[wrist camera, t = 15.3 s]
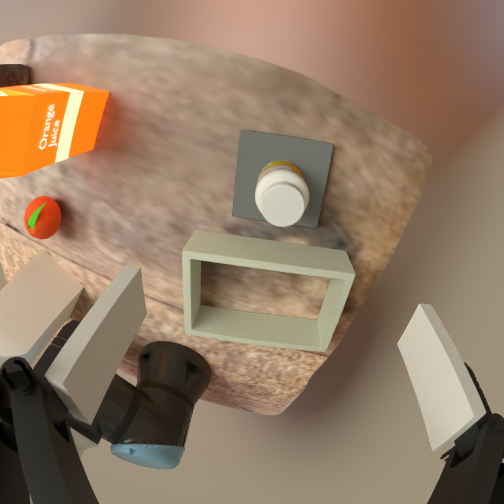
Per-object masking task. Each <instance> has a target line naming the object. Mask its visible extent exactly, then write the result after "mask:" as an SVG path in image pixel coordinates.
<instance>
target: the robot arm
mask: <svg viewBox="0 0 504 504" xmlns="http://www.w3.org/2000/svg"><path fill="white" fill-rule="evenodd" d="M146 314H147V313H146V306H145V299H144V291H143V283H142V275H141V267H136V266H130V265H125V267H124V268H123V269H122V270H121V271H120V273H119V274H118V275H117V276H116V277H115V279H114V280H113V281H112V282H111V284H110V285H109V286H108V287H107V289H106V290H105V291H104V292H103V294H102V295H101V296H100V297H99V299H98V300H97V301H96V303H95V304H94V305H93V307H92V308H91V309H90V310H89V312H88V313H87V314H86V316H85V317H84V318H83V320H82V321H81V322H79V321H76V320H72V321H71V322H69V323H68V324H66V325H65V326H63V328H62V329H61V330H60V332H59V333H58V334H57V337H55V338H54V340H53V341H52V343H51V345H49V347H48V348H47V349H46V351H45V352H44V354H43V355H42V357H41V358H40V360H39V361H38V362H37V364H36V366H35V367H34V369H33V370H32V368H31V366H30V365H29V363H28V362H27V361H26V360H25V359H24V358H22V357H12V358H9V359H7V360H6V361H5V362H4V363H3V365H2V366H1V368H0V504H99V503H98V501H97V498H96V496H95V494H94V492H93V490H92V487H91V485H90V483H89V481H88V478H87V476H86V473H85V471H84V468H83V465H82V463H81V460H80V458H81V456H82V454H83V452H84V450H85V449H87V448H91V447H96V446H97V445H98V444H99V441H100V439H101V438H103V439H105V440H107V441H108V442H110V443H112V445H111V447H110V448H111V452H112V454H114V455H116V456H117V457H119V458H120V459H123V460H125V461H128V462H131V463H134V464H137V465H141V466H144V467H149V468H155V469H173V468H175V467H176V466H178V465H179V463H180V460H181V457H182V454H183V451H184V450H185V448H184V447H185V442H186V438H187V434H188V430H189V425H190V421H191V417H192V413H193V409H194V405H195V403H196V402H197V401H198V399H199V398H200V397H201V395H202V394H203V392H204V391H205V390H206V388H207V387H208V385H209V381H210V377H211V370H210V367H209V365H208V363H207V362H206V361H205V360H204V359H203V358H202V357H201V356H200V355H199V354H197V353H196V352H194V351H193V350H191V349H189V348H187V347H185V346H182V345H180V344H176V343H172V342H165V341H158V342H152V343H149V344H148V345H146V346H145V347H144V348H143V350H142V352H141V354H140V356H139V359H138V375H137V385H136V387H135V386H133V385H132V384H130V383H129V382H128V381H126V380H125V379H123V378H122V377H120V376H119V375H117V374H116V371H117V369H118V367H119V365H120V363H121V361H122V359H123V357H124V356H125V354H126V352H127V350H128V348H129V346H130V344H131V342H132V340H133V338H134V336H135V335H136V333H137V331H138V329H139V327H140V325H141V323H142V322H143V320H144V318H145V316H146ZM398 347H399V349H400V351H401V354H402V357H403V360H404V362H405V365H406V368H407V370H408V373H409V376H410V379H411V382H412V384H413V387H414V390H415V393H416V396H417V399H418V403H419V406H420V409H421V412H422V415H423V419H424V422H425V425H426V429H427V433H428V436H429V440H430V443H431V447H432V451H436V450H440V449H443V448H446V447H447V446H448V445H450V444H451V443H452V442H453V441H454V442H455V446H454V447H453V448H451V449H450V450H449V451H447V452H446V453H445V454H443V455H442V457H441V458H440V459H443V458H445V457H446V456H447V455H449V457H448V458H446V459H445V461H446V464H445V467H444V469H443V472H442V474H441V476H440V478H439V481H438V483H437V485H436V487H435V489H434V491H433V493H432V495H431V498H430V499H429V501H428V503H427V504H504V463H502V459H503V458H504V418H503V417H502V416H501V415H499V414H497V413H494V414H492V412H491V411H490V408H489V406H488V404H487V401H486V399H485V397H484V394H483V392H482V390H481V388H479V386H480V385H479V383H478V381H476V377H475V375H474V373H473V371H472V370H471V369H470V367H469V366H468V365H467V364H466V363H464V362H463V361H462V359H461V357H460V355H459V353H458V351H457V349H456V347H455V345H454V343H453V342H452V340H451V338H450V336H449V334H448V333H447V331H446V329H445V327H444V326H443V324H442V322H441V321H440V319H439V317H438V316H437V314H436V312H435V311H434V309H433V307H432V306H431V304H419V305H418V307H417V309H416V311H415V313H414V315H413V317H412V319H411V320H410V322H409V324H408V326H407V328H406V330H405V331H404V333H403V335H402V337H401V339H400V341H399V342H398Z"/></svg>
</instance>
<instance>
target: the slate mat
mask: <svg viewBox="0 0 504 504" xmlns="http://www.w3.org/2000/svg"><path fill="white" fill-rule="evenodd" d="M332 149H333V144H331V143H326V142H321V141H315V140H310V139H304V138H298V137H292V136H286V135H279V134H272V133H264V132H256V131H247V130H241V133H240V142H239V151H238V160H237V170H236V180H235V190H234V200H233V211H232V216H235V217H243V218H250V219H257V220H265V221H267V220H266V219H265V218H264V216H263V214H262V213H261V212H260V211H259V209H258V207H257V205H256V201H255V190H256V186H257V182H258V177H259V174H260V172H261V170H262V169H263V168H264V167H265V166H266V165H267V164H268V163H270V162H272V161H275V160H286V161H289V162H291V163H293V164H295V165H296V166H297V167H298V168H299V170H300V171H301V173H302V175H303V177H304V180H305V182H306V184H307V187H308V191H309V202H308V205H307V208H306V209H305V211H304V213H303V215H302V217H301V218H300V219H299V220H298V221H297V222H296V223H294V224H293V225H299V226H306V227H312V228H317V225H318V220H319V216H320V211H321V206H322V201H323V197H324V192H325V187H326V182H327V176H328V171H329V166H330V161H331V155H332Z"/></svg>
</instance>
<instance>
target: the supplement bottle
mask: <svg viewBox="0 0 504 504" xmlns="http://www.w3.org/2000/svg"><path fill="white" fill-rule="evenodd" d="M255 201H256V205H257V207H258V209H259V211H260V212H261V213H262V214H263V216H264V218H265V219H266V220H267V221H268V222H269V223H271V224H273V225H275V226H280V227H286V226H290V225H293V224H294V223H296V222H297V221H298V220H299V219H300V218H301V217H302V215H303V213H304V211H305V209H306V208H307V205H308V202H309V191H308V187H307V184H306V182H305V180H304V177H303V175H302V173H301V171H300V170H299V168H298V167H297V166H296V165H295V164H293V163H291V162H289V161H286V160H275V161H272V162H270V163H268V164H267V165H266V166H265V167H264V168H263V169H262V170H261V172H260V174H259V177H258V182H257V186H256V190H255Z"/></svg>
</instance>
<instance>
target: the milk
mask: <svg viewBox="0 0 504 504" xmlns="http://www.w3.org/2000/svg"><path fill="white" fill-rule="evenodd" d="M83 288H84V287H83V286H82V285H81V284H80V283H79V282H78V281H77V280H75V279H74V278H73V277H72V276H71V275H70V274H69V273H68V272H67V271H66V270H64V269H63V268H62V267H61V266H60V265H59V264H58V263H57V262H56V261H55V260H54V259H53V258H52V257H51V256H50V255H49V254H48V253H47V252H46V251H45V250H44V249H42V250H41V251H40V252H39V253H38V254H37V255H36V256H35V257H34V258H33V259H32V260H30V261H29V262H28V263H27V264H26V265H25V266H24V267H23V268H22V269H21V270H20V271H19V272H18V273H17V274H16V275H15V276H14V277H13V278H12V279H11V280H10V281H9V282H8V283H7V284H6V285H5V286H4V287H3V289H2V290H1V291H0V368H1V366H2V365H3V363H4V362H5V361H6V360H7V359H9V358H12V357H22V358H24V359H25V360H26V361H27V362H28V363H29V365H31V364H32V362H33V361H34V360H35V358H36V357H37V356H38V355H39V353H40V352H41V351H42V349H43V348H44V347H45V346H46V344H47V343H48V342H49V341H50V340H51V338H52V337H53V336H54V335H55V334H56V332H57V331H58V330H59V329H60V328H61V326H62V325H63V324H64V323H65V322H66V321H67V319H68V318H69V317H70V315H71V313H72V311H73V309H74V307H75V304H76V302H77V300H78V298H79V296H80V294H81V292H82V290H83Z"/></svg>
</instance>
